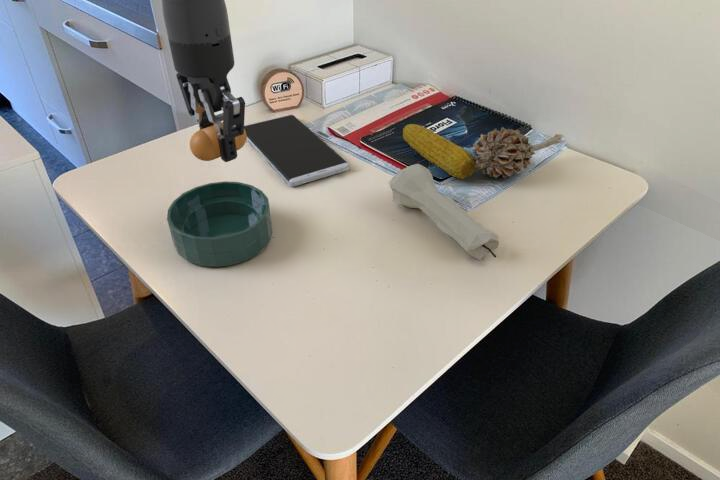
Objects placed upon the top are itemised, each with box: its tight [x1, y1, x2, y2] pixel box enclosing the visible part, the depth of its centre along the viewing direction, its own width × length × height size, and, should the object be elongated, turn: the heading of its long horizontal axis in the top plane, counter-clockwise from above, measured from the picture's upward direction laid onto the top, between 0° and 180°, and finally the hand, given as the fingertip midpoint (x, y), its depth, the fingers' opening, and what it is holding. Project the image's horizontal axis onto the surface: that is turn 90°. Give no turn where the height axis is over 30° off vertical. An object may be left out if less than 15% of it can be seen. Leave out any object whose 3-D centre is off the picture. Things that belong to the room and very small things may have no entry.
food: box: [402, 123, 476, 180], centre depth 107 cm, size 21×6×6 cm, turn 33°
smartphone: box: [244, 113, 350, 187], centre depth 111 cm, size 13×27×2 cm, turn 31°
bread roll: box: [189, 121, 247, 162], centre depth 74 cm, size 8×4×4 cm, turn 133°
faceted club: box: [388, 163, 500, 261], centre depth 88 cm, size 9×8×25 cm
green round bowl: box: [166, 181, 273, 268], centre depth 86 cm, size 16×16×6 cm
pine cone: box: [470, 126, 567, 179], centre depth 103 cm, size 22×10×10 cm, turn 121°
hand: (220, 152), depth 75 cm, fingers closed on bread roll, 4 cm apart
